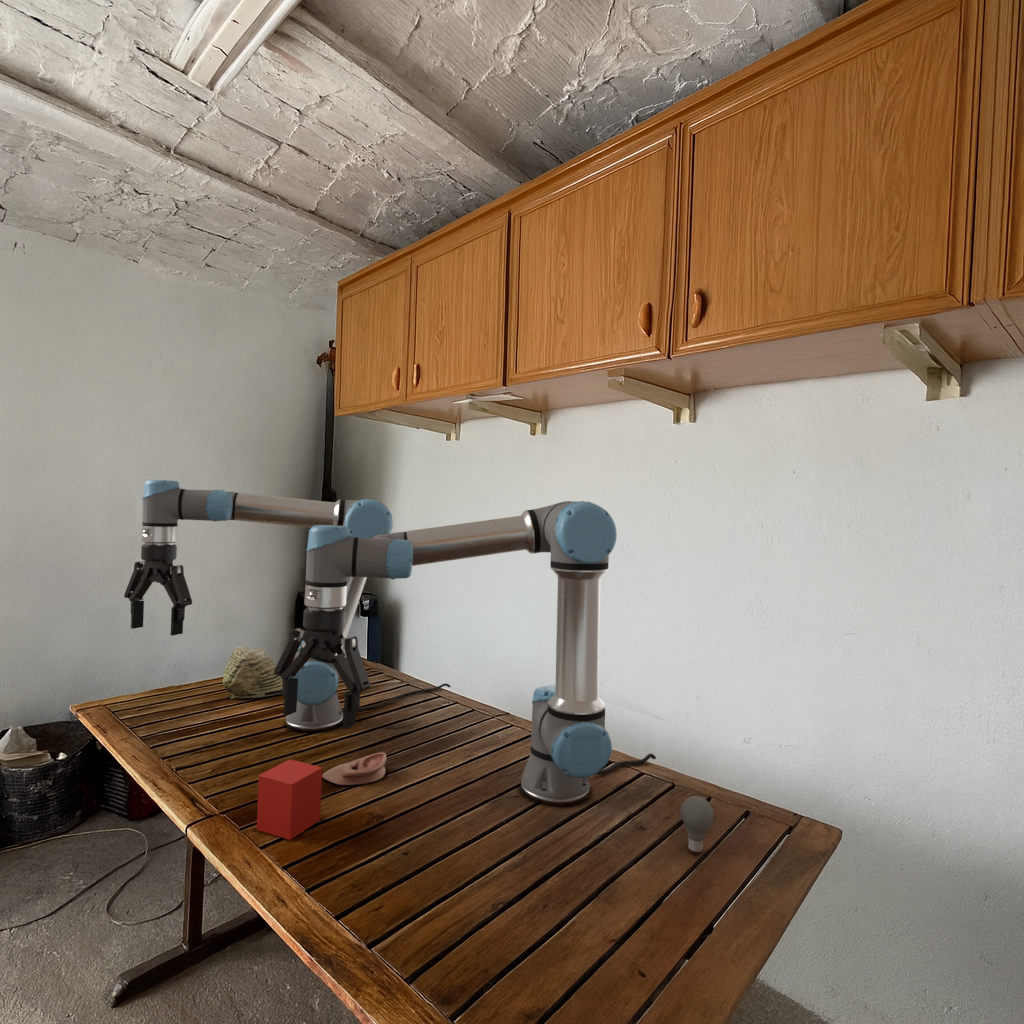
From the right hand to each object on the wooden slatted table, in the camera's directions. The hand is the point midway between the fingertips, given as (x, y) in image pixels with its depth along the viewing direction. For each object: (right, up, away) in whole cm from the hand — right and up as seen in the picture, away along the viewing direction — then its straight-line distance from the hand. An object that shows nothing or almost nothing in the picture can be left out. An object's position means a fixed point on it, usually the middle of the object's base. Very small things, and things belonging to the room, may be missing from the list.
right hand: (318, 720), depth 119 cm
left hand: (-50, +10, +35) cm, 62 cm away
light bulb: (+71, -25, 0) cm, 75 cm away
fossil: (-44, -18, +79) cm, 92 cm away
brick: (-7, -21, +3) cm, 22 cm away
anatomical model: (0, -21, +26) cm, 33 cm away
